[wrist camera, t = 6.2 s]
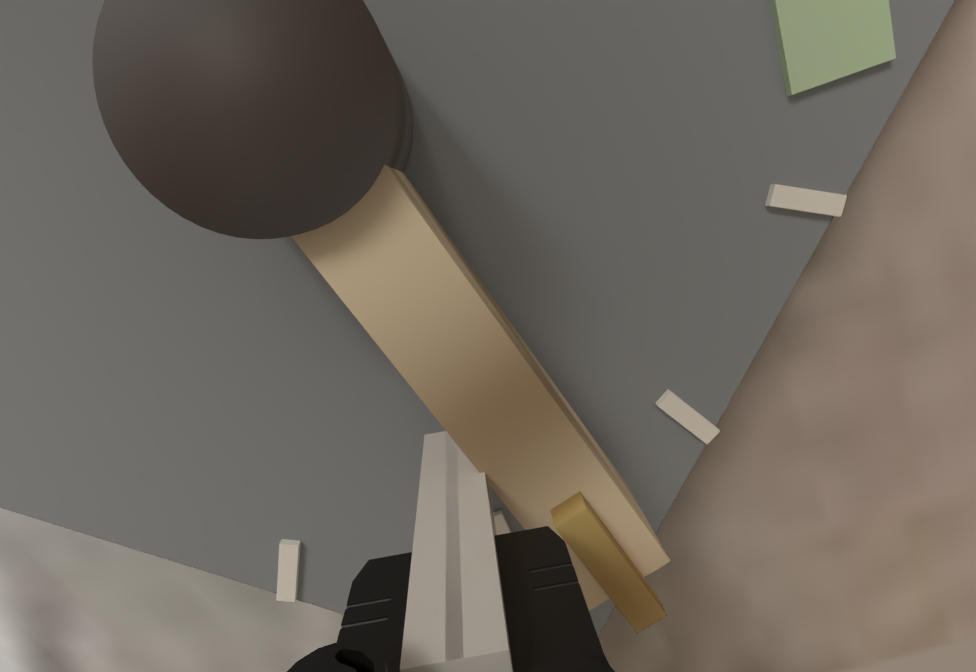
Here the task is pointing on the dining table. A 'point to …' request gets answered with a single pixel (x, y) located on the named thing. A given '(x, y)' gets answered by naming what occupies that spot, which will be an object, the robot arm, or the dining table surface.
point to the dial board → (475, 232)
